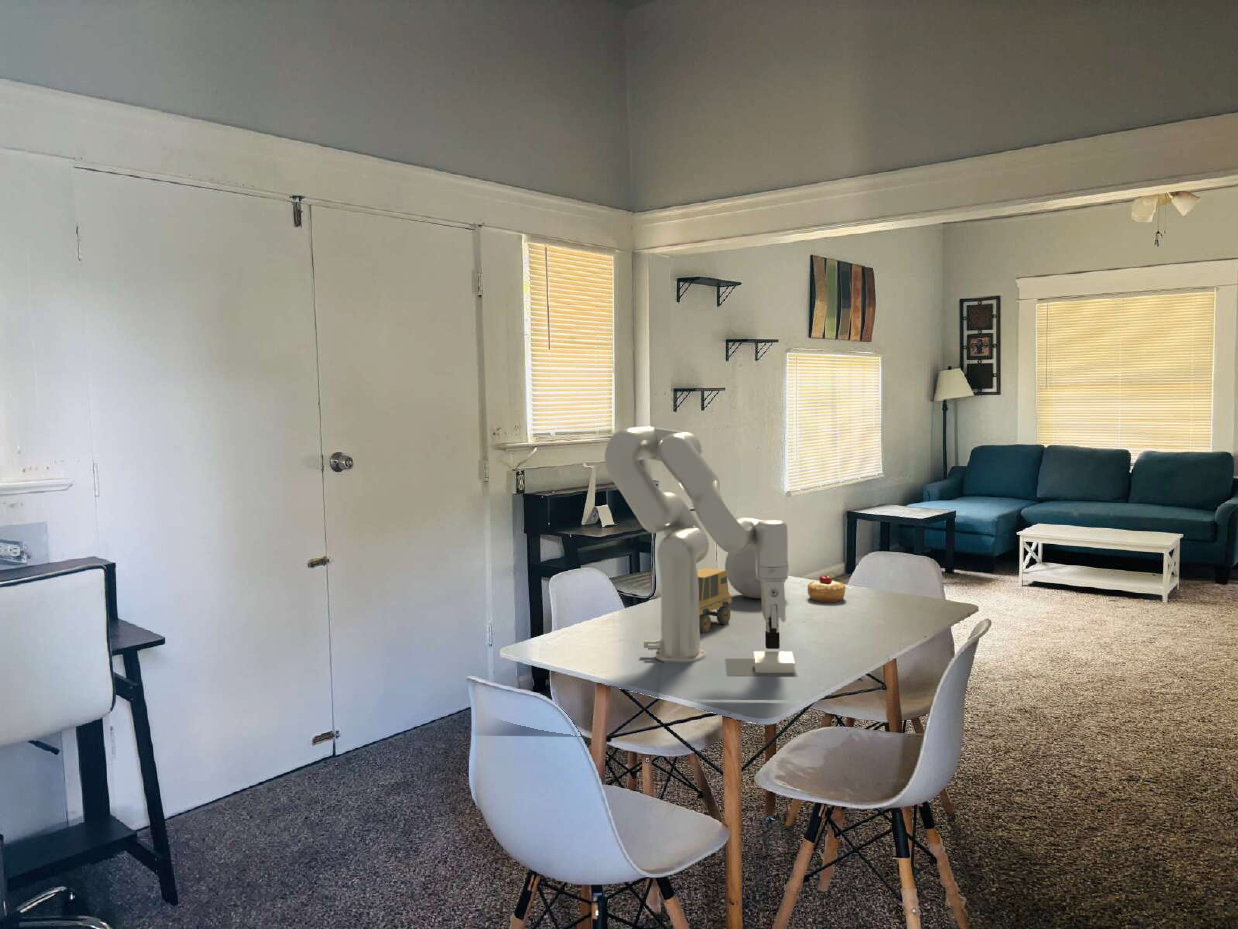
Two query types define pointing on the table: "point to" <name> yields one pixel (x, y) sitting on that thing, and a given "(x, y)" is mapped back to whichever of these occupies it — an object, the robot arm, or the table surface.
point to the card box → (774, 662)
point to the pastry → (826, 589)
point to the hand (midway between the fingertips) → (772, 647)
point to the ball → (743, 572)
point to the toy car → (713, 597)
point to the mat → (749, 669)
